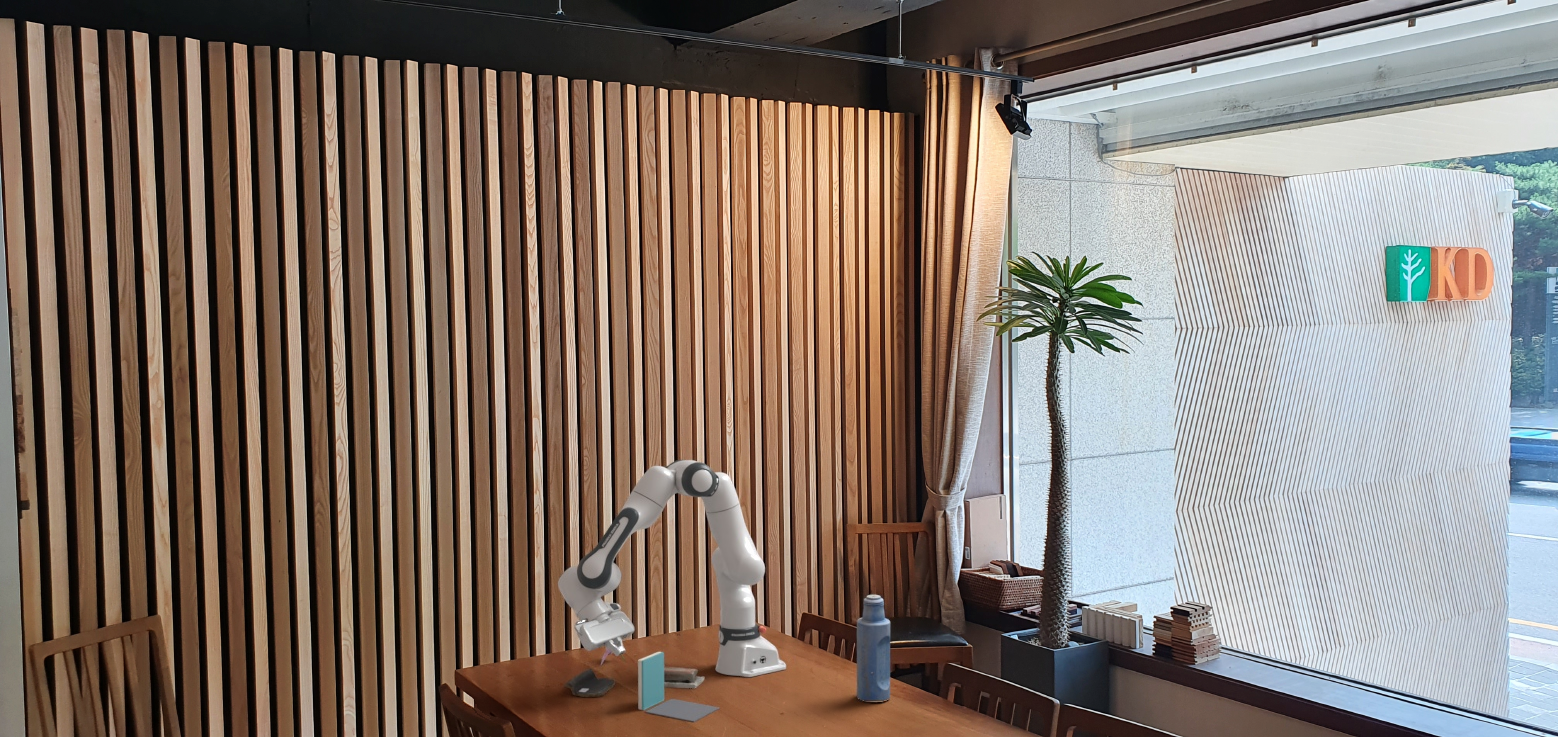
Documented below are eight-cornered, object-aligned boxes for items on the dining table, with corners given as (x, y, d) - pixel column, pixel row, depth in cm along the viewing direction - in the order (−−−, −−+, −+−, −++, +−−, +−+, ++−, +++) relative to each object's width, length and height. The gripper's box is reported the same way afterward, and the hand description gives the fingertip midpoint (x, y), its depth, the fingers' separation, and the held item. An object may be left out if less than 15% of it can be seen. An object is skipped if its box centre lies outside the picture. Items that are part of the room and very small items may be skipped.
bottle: (871, 691, 325) (871, 590, 325) (897, 698, 318) (897, 595, 318) (850, 698, 318) (849, 595, 318) (875, 705, 311) (875, 600, 311)
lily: (611, 657, 366) (597, 634, 364) (640, 646, 363) (627, 622, 361) (600, 678, 355) (586, 654, 353) (631, 666, 352) (616, 642, 349)
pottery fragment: (599, 699, 319) (599, 685, 319) (561, 696, 322) (561, 681, 322) (618, 684, 333) (618, 670, 333) (581, 681, 336) (581, 667, 336)
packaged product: (638, 670, 332) (649, 661, 342) (638, 686, 332) (649, 677, 342) (695, 674, 328) (705, 664, 338) (695, 690, 328) (705, 680, 338)
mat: (645, 712, 306) (645, 711, 306) (671, 699, 318) (671, 698, 318) (694, 721, 298) (694, 720, 298) (719, 708, 310) (719, 707, 310)
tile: (638, 709, 309) (638, 659, 309) (659, 699, 318) (658, 651, 318) (643, 710, 309) (643, 660, 308) (664, 700, 317) (664, 652, 317)
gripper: (577, 616, 313) (604, 655, 308) (622, 602, 331) (648, 639, 326) (565, 630, 315) (592, 668, 310) (610, 615, 333) (636, 652, 328)
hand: (621, 653), depth 318 cm, fingers closed
